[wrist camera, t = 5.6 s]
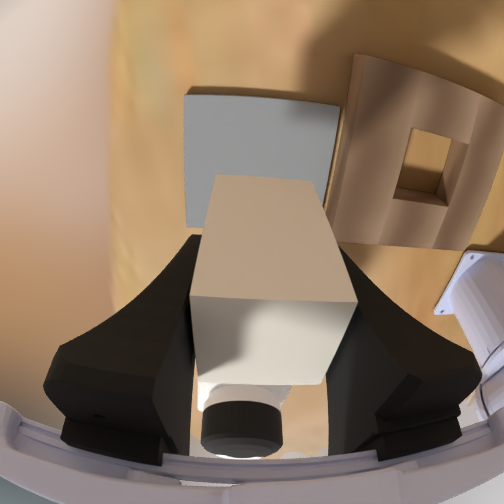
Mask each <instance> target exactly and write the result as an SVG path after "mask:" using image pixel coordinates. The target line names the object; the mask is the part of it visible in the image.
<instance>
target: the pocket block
mask: <svg viewBox="0 0 504 504" xmlns="http://www.w3.org/2000/svg"><path fill="white" fill-rule="evenodd" d="M411 128H414V129H418V130H422V131H426V132H430V133H433V134H437V135H440V136H444V137H447V138H450V139H452V142H451V145H450V149H449V153H448V156H447V160H446V163H445V166H444V170H443V173H442V176H441V179H440V182H439V185H438V188H437V191H436V194H433V193H428V192H422V191H416V190H410V189H404V188H397V187H396V185H397V181H398V178H399V174H400V170H401V167H402V163H403V159H404V155H405V151H406V147H407V143H408V139H409V135H410V131H411ZM503 150H504V106H503V105H501V104H499V103H498V102H496V101H493V100H491V99H489V98H487V97H485V96H483V95H481V94H479V93H476V92H474V91H472V90H470V89H467V88H465V87H463V86H460V85H458V84H455V83H453V82H450V81H448V80H445V79H443V78H440V77H437V76H435V75H432V74H429V73H426V72H423V71H420V70H417V69H414V68H411V67H408V66H405V65H402V64H398V63H395V62H391V61H388V60H384V59H380V58H377V57H373V56H369V55H364V54H354V56H353V63H352V71H351V78H350V84H349V91H348V98H347V104H346V110H345V116H344V122H343V128H342V134H341V139H340V145H339V150H338V155H337V161H336V166H335V171H334V176H333V181H332V186H331V191H330V196H329V200H328V205H327V210H326V217H327V219H328V222H329V224H330V227H331V229H332V232H333V234H334V237H335V239H336V242H345V243H359V244H374V245H388V246H402V247H415V248H428V249H441V250H454V251H465V249H466V247H467V245H468V242H469V240H470V238H471V236H472V234H473V231H474V229H475V227H476V224H477V222H478V220H479V217H480V215H481V213H482V210H483V208H484V205H485V202H486V200H487V197H488V195H489V192H490V189H491V186H492V184H493V181H494V178H495V175H496V172H497V169H498V166H499V163H500V160H501V156H502V153H503Z"/></svg>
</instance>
